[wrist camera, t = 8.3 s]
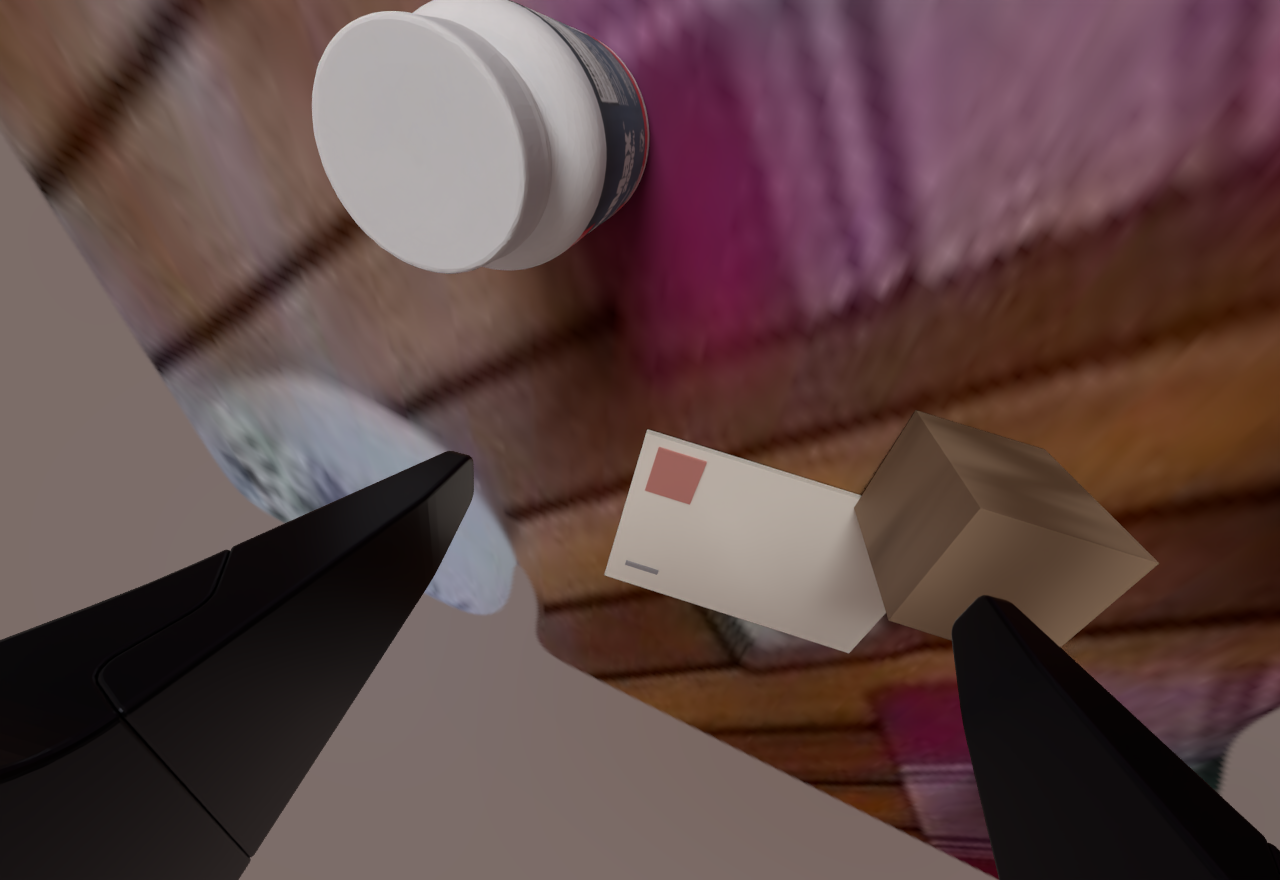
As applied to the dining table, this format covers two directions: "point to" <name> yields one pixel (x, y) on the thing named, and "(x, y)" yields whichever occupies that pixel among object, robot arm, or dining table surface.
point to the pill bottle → (477, 133)
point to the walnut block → (990, 532)
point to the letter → (747, 543)
